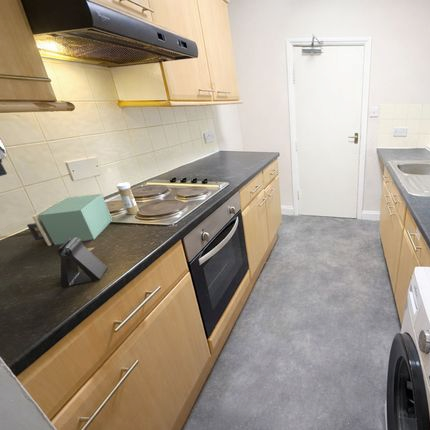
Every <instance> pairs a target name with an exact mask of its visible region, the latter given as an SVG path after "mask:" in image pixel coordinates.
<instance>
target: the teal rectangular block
mask: <svg viewBox="0 0 430 430" xmlns="http://www.w3.org/2000/svg"><path fill="white" fill-rule="evenodd" d="M64 198H65V199H63V198H62V199H63V200H62V201H60V200H59V201H60V202H59V203H57V204H55V205H54V206H52V207H51V208H49V209H48V210H46V211H44V212H43V213H41V214H40V215H39V217H40V219H41V221H42V223H43V224H44V226H45V228H46V230H47V232H48V234H49V235H50V237H51V239H52V241H53V245H54V246H57V245H63V244H64V243H65V242H66V241H67V240H68V239H69V238H71V239H70V241H71V240H72V239H73V238H74V237H78V238H80V239H81V240H82V242H84V241H85V242H86V241H92V240H95V239H96V238H97V237H98V236H99V235H100V234H101V233H102V232H103V231H104V230H105V229H106V228H107V226H108V225H110V223H111V222H112V221H113V218H112V215H111V213H110V210H109V208H108V205H107V203H106V201H105V198H104V196H103V194H102V193H97V194H88V195H79V196H69V197H64ZM110 221H111V222H110Z"/></svg>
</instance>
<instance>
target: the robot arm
mask: <svg viewBox="0 0 430 430" xmlns="http://www.w3.org/2000/svg"><path fill="white" fill-rule="evenodd" d="M6 152H7V151H6V148H5V146H4V144H3V142H2V140H1V139H0V177H2V176H6V175H8V173H7V171H6V169H5V167H4V165H3V164H2V163H3V161H2V160H4V159H6V158H7V156H6Z"/></svg>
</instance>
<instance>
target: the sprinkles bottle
mask: <svg viewBox="0 0 430 430" xmlns="http://www.w3.org/2000/svg"><path fill="white" fill-rule="evenodd" d="M116 189H117V191H118V193H119V195H120V198H121V201H122V203H123V207H124V208H125V210H126V214H127V215H135V214H138V213H139V212H140V209H139V208H138V205H137V202H136V200H135V197H134V194H133V192H132V189H131V183H130V182H120V183H117V184H116ZM138 211H139V212H138ZM137 212H138V213H137Z"/></svg>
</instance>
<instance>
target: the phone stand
mask: <svg viewBox="0 0 430 430" xmlns="http://www.w3.org/2000/svg"><path fill="white" fill-rule="evenodd" d="M70 239H71V238H69V239H68V240H67V241H66V242H65V243H64V244H61V246H60V247H59V248H58V249H57V251H56V253H57V255H58V256H59V259H60V288H62V289H63V288H64V289H65V288H70V287H73V286H79V285H85V284H89V283H94V282H98V281H100V280H101V279H102V278H103V276H104V274H105V273H106V271H107V269H108V266H107V265H106V264H105V263H103V262H102V261H101V260H100V259H99V257H97V255H95V254H93V252H92V251H91V250H89V249H88V247H86V246H85V245H84V243H83V241H82V240H81V239H80V238H78V237H74V238H73V239H72V240H71V241H70ZM79 269H81V270H82V271H81V272H79Z"/></svg>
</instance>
